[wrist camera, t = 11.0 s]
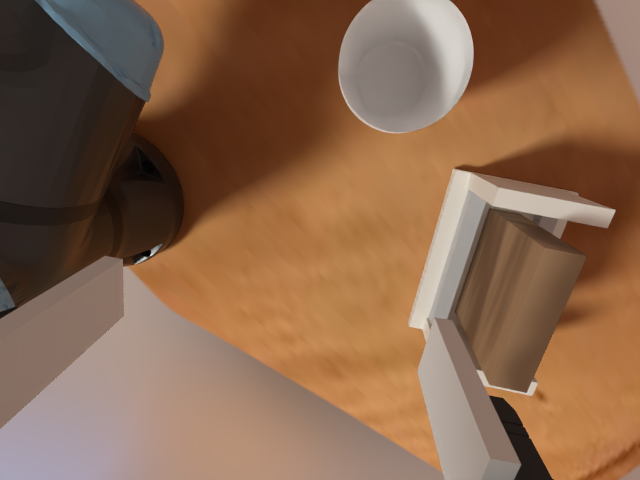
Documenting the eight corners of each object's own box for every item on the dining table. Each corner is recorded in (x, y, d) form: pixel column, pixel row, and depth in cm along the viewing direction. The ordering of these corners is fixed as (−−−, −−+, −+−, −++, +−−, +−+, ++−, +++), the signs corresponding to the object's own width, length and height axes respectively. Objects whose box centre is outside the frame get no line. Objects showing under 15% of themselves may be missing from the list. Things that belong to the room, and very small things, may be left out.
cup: (459, 55, 35) (506, 27, 23) (407, 145, 38) (427, 158, 26) (372, 7, 34) (378, -46, 23) (327, 102, 37) (312, 96, 26)
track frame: (408, 321, 44) (419, 371, 35) (453, 168, 38) (479, 183, 29) (511, 343, 43) (548, 399, 35) (573, 191, 37) (635, 214, 29)
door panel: (454, 311, 42) (489, 384, 30) (489, 207, 38) (544, 247, 27) (484, 317, 42) (529, 393, 30) (522, 214, 38) (590, 256, 26)
